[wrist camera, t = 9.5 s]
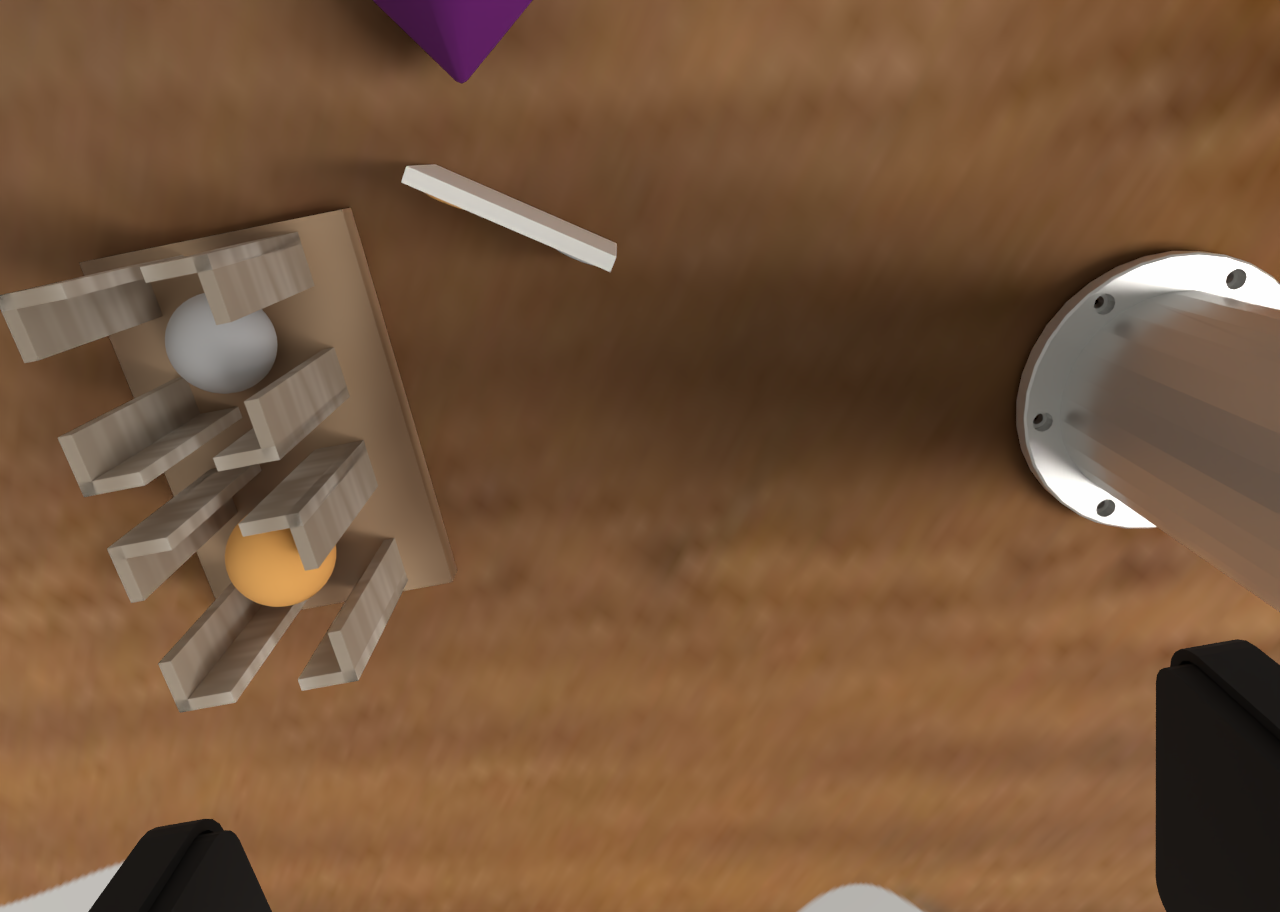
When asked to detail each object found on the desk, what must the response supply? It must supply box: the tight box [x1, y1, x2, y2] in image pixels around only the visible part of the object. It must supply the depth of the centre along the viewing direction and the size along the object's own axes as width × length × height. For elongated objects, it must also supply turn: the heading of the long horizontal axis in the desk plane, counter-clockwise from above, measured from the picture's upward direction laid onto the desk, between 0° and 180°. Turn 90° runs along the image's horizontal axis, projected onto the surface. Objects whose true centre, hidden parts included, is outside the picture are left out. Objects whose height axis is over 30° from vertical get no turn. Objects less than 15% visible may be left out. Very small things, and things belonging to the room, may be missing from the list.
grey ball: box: [165, 293, 277, 394], centre depth 34 cm, size 4×4×4 cm
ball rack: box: [0, 208, 457, 712], centre depth 34 cm, size 11×17×9 cm, turn 11°
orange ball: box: [225, 516, 336, 607], centre depth 33 cm, size 4×4×4 cm
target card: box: [401, 164, 617, 272], centre depth 33 cm, size 1×8×5 cm, turn 66°
